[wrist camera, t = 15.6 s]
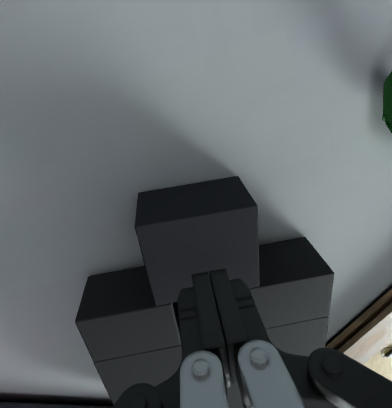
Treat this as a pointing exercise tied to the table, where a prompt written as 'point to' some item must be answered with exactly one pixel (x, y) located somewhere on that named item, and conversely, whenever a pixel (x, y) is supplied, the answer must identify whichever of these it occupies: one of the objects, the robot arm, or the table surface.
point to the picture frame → (370, 338)
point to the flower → (387, 102)
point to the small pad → (197, 235)
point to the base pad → (169, 318)
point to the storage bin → (45, 405)
